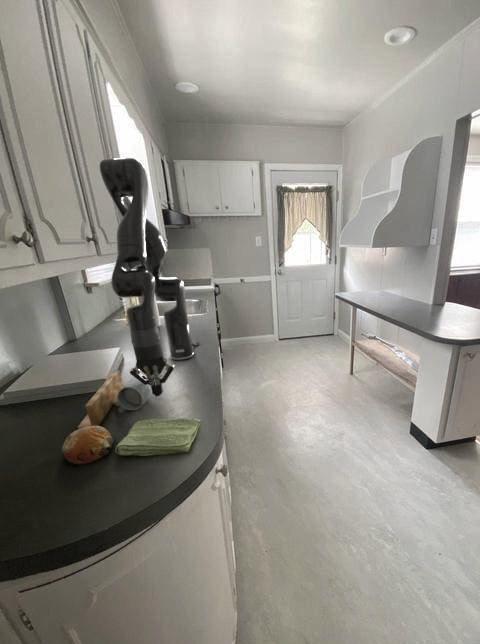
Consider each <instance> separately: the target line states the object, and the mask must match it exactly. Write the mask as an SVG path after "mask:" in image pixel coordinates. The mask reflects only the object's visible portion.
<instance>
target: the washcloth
mask: <svg viewBox="0 0 480 644" xmlns="http://www.w3.org/2000/svg"><path fill="white" fill-rule="evenodd" d="M201 423H202V421H201V420H200V419H198V418H190V417H188V418H187V417H182V418H181V417H179V418H167V419H156V418H153V419H141V420H138V421H136V422H134V423H133V425H132V427H131V428H130V429H129V430H128V433H127V435H126V436H125V437H123V438H122V439H121V440H120V441H119V442H118V443H117V445H116V448H115V453H116V454H117V455H119V456H140V457H146V456H147V457H148V456H157V455H158V456H160V455H170V454H178V453H180V454H181V453H188V452H190V451H189V450H190V448H191V446H192V444H193V441H194V440H195V438H196V436H197V434H198V430H199V428H200V425H201Z"/></svg>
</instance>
